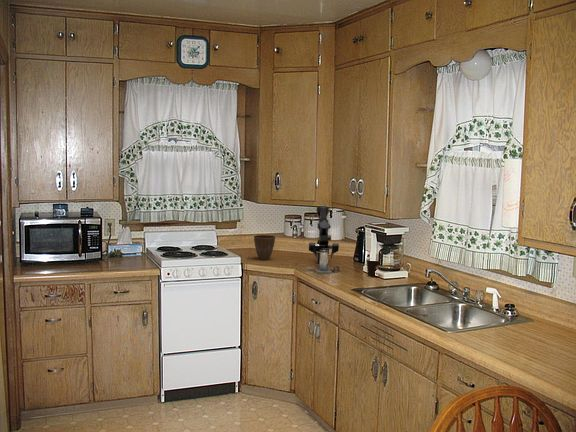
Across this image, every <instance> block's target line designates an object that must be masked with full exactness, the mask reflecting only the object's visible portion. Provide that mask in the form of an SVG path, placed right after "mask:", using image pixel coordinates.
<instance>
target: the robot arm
mask: <svg viewBox="0 0 576 432" xmlns="http://www.w3.org/2000/svg"><path fill="white" fill-rule="evenodd" d="M329 214H330V207H329V206H326V205H320V206H319V205H318V206H316V215H317V218H318V223H317V229H318V231H319V234H318V237H319V238H318V240H317V242H309V243H308V251H309V252H311V253H312V255H314V257H315V259H316V260H315V262H316V263H317V264H320V249H327V250H328V255H330V259H332V258H333V256H334V254H335V253H337V252H339V249H340V244H339V243H336V242H334V243H333V242H332V244H331V245H330V244H329V242H330V241H332V235H331V234H329V229H331V224H330V223H329V220H328V219H327V218H328V215H329ZM330 250H331V252H330ZM330 253H331V254H330Z"/></svg>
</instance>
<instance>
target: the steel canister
mask: <svg viewBox="0 0 576 432" xmlns="http://www.w3.org/2000/svg"><path fill="white" fill-rule="evenodd" d="M318 266H319V268H318V269H319V271H328V269H329V254H328V250H327V249H320V263H319V265H318Z"/></svg>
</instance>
